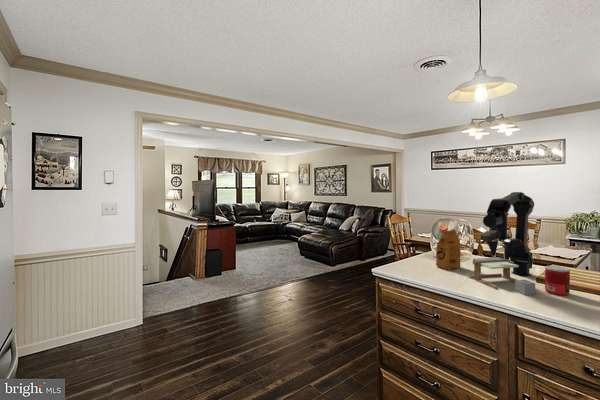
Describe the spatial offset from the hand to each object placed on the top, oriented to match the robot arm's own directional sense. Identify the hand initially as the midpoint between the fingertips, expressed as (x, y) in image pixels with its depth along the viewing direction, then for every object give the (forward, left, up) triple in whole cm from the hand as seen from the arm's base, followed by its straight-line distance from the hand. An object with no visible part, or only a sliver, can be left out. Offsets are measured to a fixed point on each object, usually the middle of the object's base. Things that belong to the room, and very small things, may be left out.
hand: (500, 257), depth 139 cm
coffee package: (+7, -30, -13) cm, 33 cm away
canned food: (-13, +16, -13) cm, 24 cm away
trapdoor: (0, -3, -5) cm, 6 cm away
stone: (0, +13, -12) cm, 18 cm away
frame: (0, -1, -12) cm, 12 cm away
